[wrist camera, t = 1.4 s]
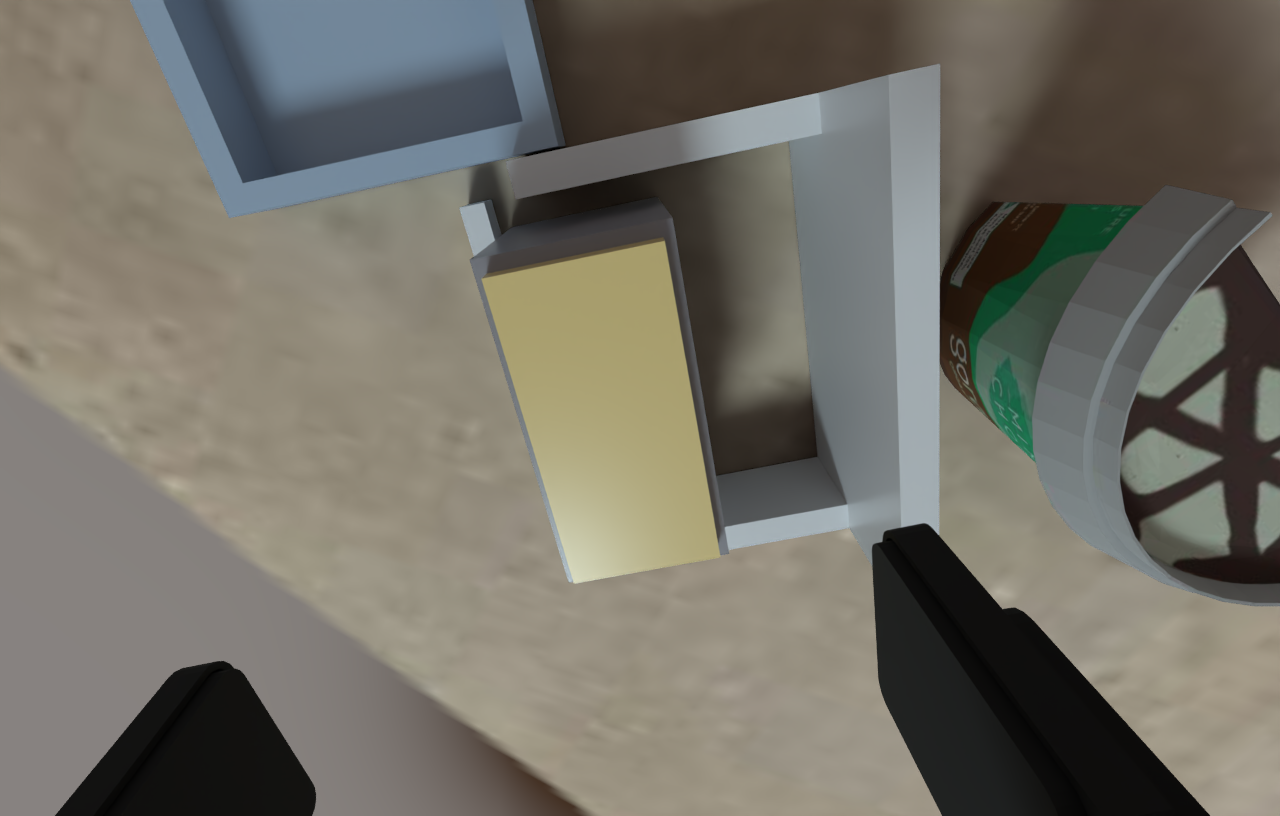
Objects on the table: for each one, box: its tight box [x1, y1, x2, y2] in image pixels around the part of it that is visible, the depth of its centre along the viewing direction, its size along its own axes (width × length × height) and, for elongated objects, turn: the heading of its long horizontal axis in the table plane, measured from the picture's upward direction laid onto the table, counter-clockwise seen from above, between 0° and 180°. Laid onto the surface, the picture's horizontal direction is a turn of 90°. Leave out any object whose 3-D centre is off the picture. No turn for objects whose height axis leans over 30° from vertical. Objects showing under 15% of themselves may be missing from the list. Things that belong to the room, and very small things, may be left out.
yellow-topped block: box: [470, 197, 729, 584], centre depth 19 cm, size 5×10×7 cm, turn 11°
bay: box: [459, 64, 940, 567], centre depth 18 cm, size 12×14×8 cm
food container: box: [939, 185, 1280, 606], centre depth 18 cm, size 12×6×10 cm, turn 48°
